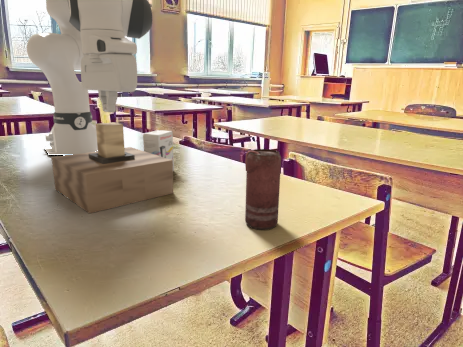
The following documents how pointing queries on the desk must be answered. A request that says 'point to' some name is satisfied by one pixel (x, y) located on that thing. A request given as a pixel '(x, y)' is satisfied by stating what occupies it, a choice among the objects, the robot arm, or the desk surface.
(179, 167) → the desk surface
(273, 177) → the can
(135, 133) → the desk surface
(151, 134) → the ink box
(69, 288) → the desk surface
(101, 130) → the peg
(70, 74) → the robot arm
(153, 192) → the sleeve block
